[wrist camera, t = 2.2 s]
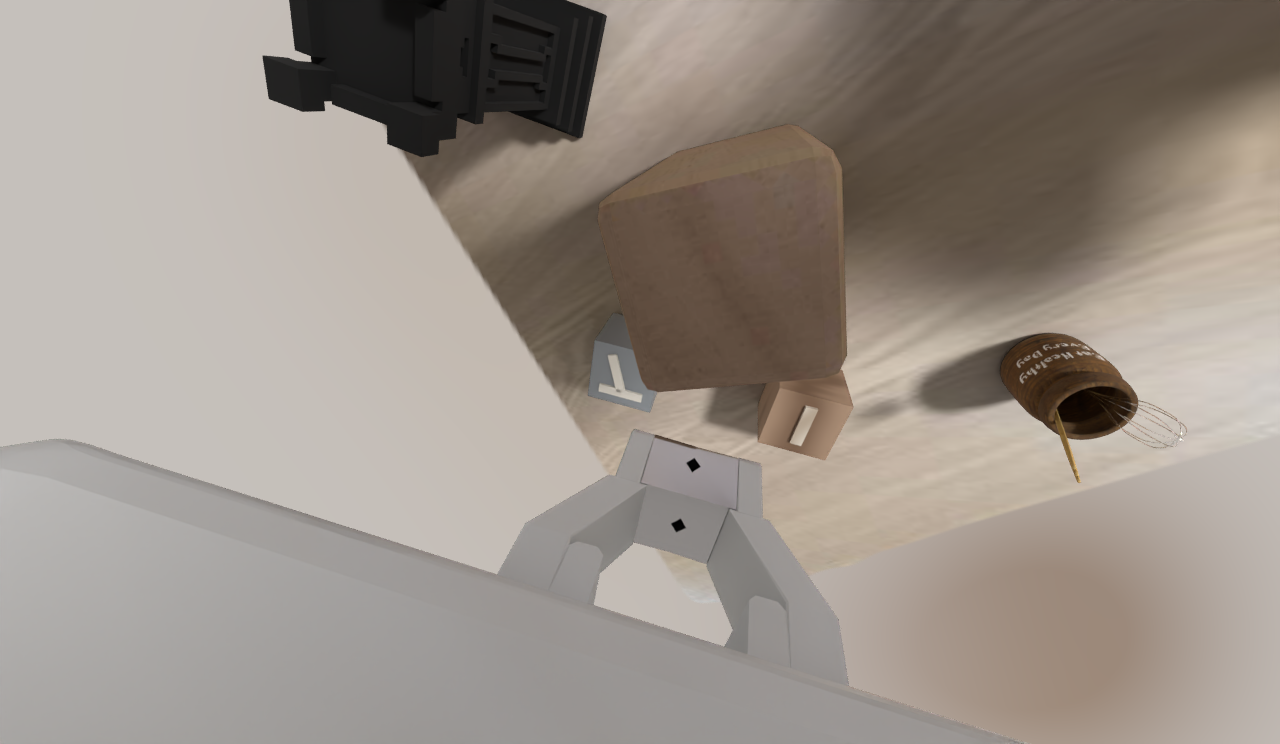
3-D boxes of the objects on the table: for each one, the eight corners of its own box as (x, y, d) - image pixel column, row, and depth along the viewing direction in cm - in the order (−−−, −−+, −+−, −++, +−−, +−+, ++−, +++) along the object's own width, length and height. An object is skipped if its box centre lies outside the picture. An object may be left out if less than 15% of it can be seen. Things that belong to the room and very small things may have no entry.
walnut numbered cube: (842, 370, 41) (854, 408, 36) (817, 419, 45) (825, 462, 39) (777, 353, 42) (780, 389, 37) (758, 404, 45) (757, 443, 40)
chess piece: (502, -23, 32) (221, -156, 15) (606, 15, 32) (437, -77, 15) (490, 102, 36) (262, 105, 20) (582, 137, 36) (429, 169, 19)
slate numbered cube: (673, 327, 43) (661, 359, 38) (661, 378, 46) (649, 414, 41) (613, 312, 44) (593, 341, 38) (606, 363, 47) (586, 397, 42)
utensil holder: (1093, 376, 37) (1219, 480, 27) (1003, 403, 40) (1086, 507, 30) (1076, 317, 35) (1204, 405, 25) (983, 351, 38) (1064, 442, 28)
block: (690, 275, 40) (640, 401, 23) (666, 153, 35) (583, 202, 19) (809, 255, 37) (851, 385, 20) (801, 119, 32) (845, 141, 16)
